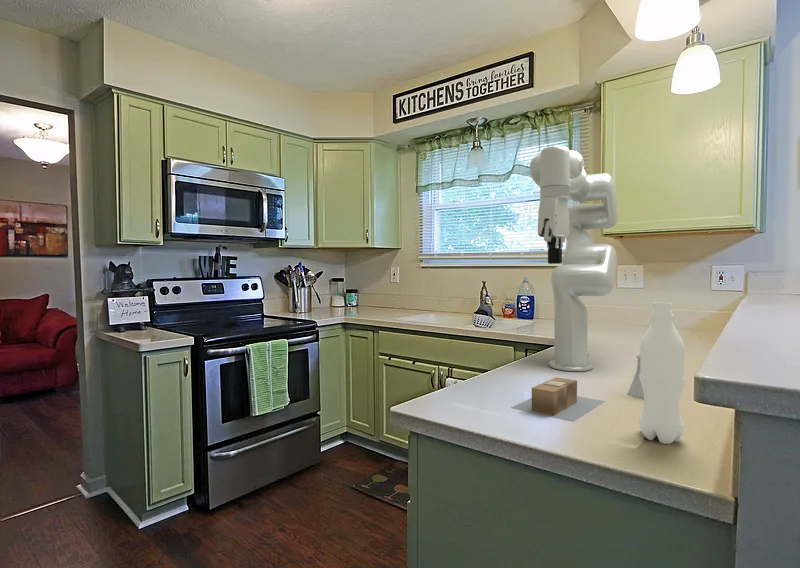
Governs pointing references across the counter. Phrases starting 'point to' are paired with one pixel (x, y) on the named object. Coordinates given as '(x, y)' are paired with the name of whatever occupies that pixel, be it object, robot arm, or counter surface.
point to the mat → (569, 413)
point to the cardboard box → (554, 396)
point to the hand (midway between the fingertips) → (554, 263)
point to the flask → (636, 384)
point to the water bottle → (662, 377)
